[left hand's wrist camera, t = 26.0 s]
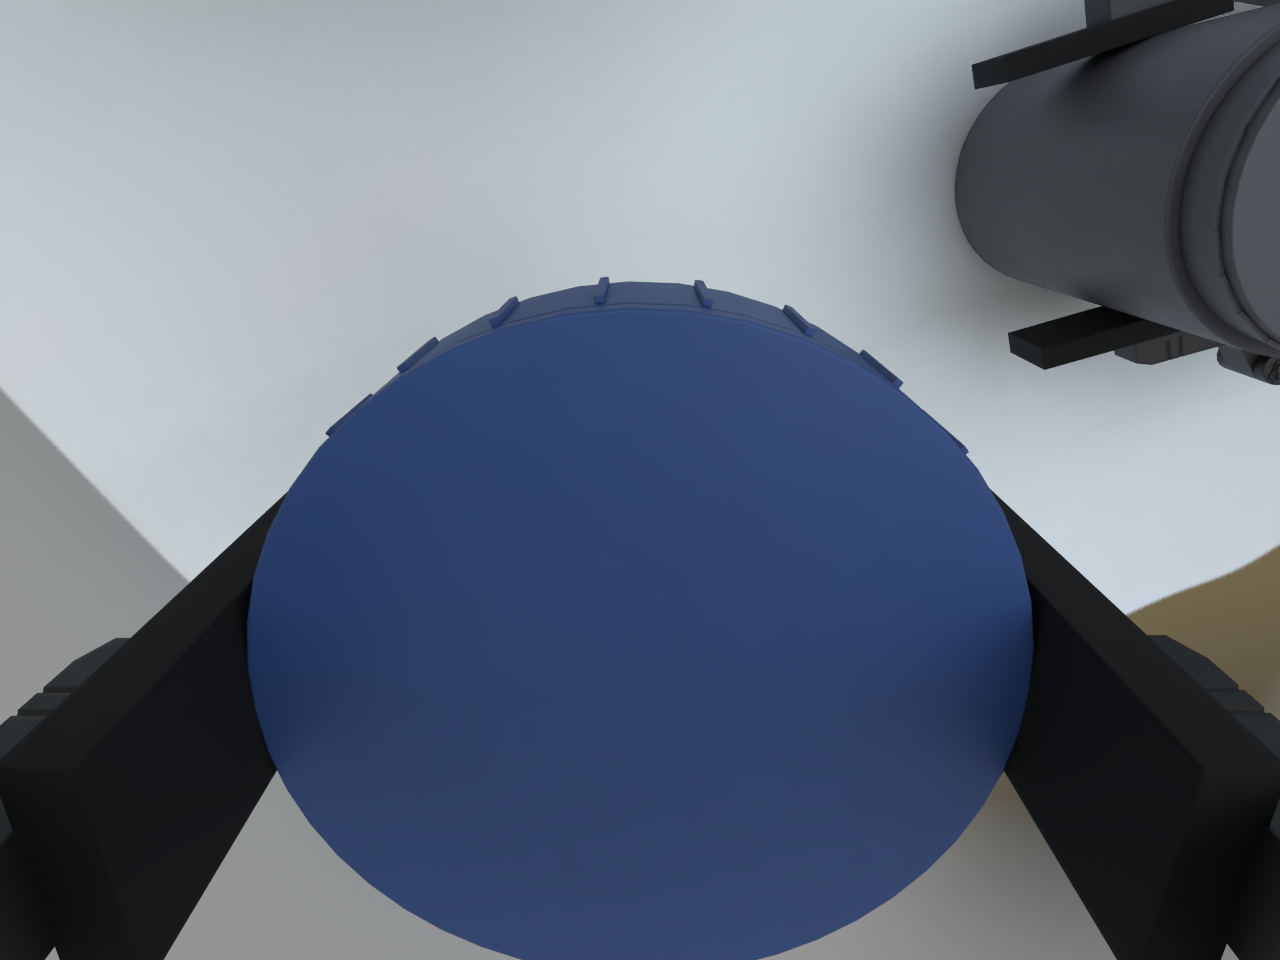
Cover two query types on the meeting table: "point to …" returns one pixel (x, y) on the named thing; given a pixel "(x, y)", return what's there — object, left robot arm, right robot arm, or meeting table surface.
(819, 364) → the lid
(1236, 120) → the jar
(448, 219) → the meeting table surface
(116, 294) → the meeting table surface
